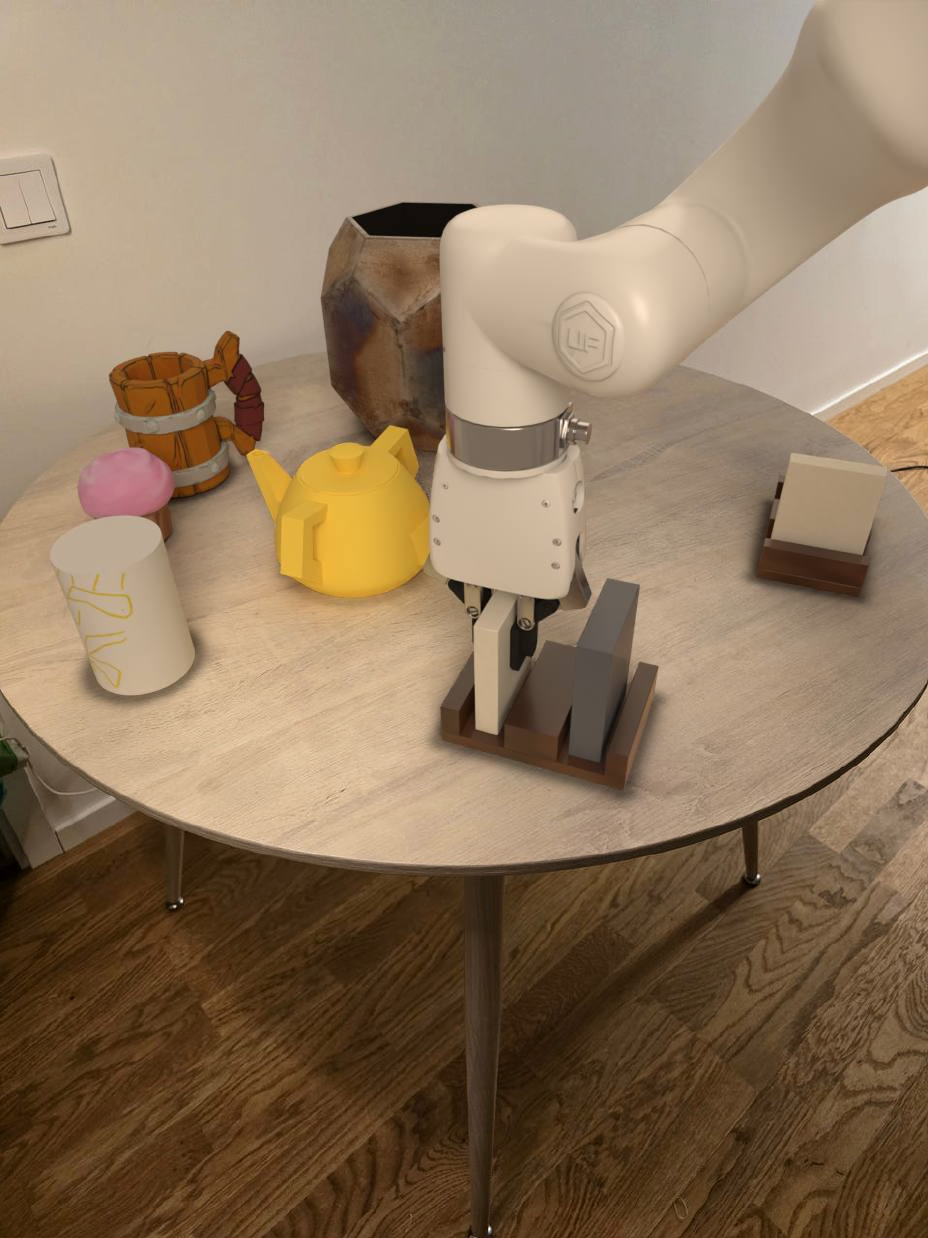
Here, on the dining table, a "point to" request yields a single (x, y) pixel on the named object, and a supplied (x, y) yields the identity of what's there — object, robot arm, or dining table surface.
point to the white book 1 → (496, 663)
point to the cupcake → (128, 487)
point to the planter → (389, 318)
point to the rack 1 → (551, 719)
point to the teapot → (349, 516)
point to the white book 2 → (828, 503)
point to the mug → (189, 411)
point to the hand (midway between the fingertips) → (504, 653)
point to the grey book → (602, 669)
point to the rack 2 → (810, 562)
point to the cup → (124, 603)
